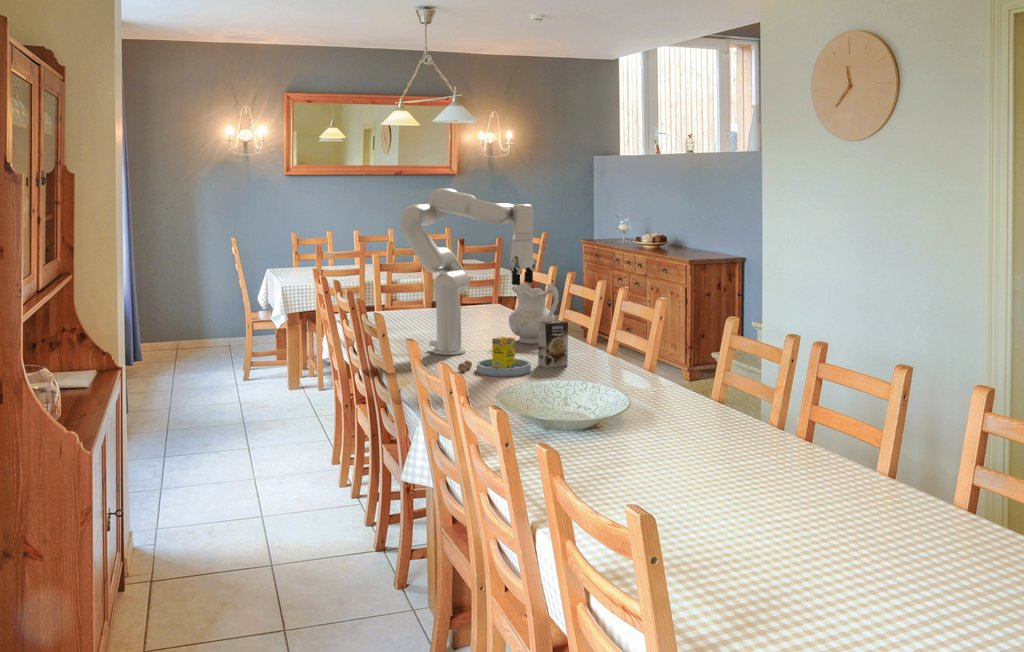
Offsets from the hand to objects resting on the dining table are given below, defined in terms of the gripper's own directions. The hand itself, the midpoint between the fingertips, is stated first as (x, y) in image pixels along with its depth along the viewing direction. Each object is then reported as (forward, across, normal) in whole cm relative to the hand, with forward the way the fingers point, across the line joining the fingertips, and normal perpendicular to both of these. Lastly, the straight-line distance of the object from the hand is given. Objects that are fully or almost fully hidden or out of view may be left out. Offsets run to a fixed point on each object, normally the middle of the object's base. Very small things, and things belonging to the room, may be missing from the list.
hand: (522, 283), depth 340 cm
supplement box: (+28, +25, +6) cm, 38 cm away
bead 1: (+28, +33, -5) cm, 44 cm away
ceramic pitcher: (+28, -33, -13) cm, 46 cm away
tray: (+28, +25, +6) cm, 38 cm away
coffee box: (+28, +8, +17) cm, 34 cm away
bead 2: (+28, +28, -6) cm, 41 cm away
